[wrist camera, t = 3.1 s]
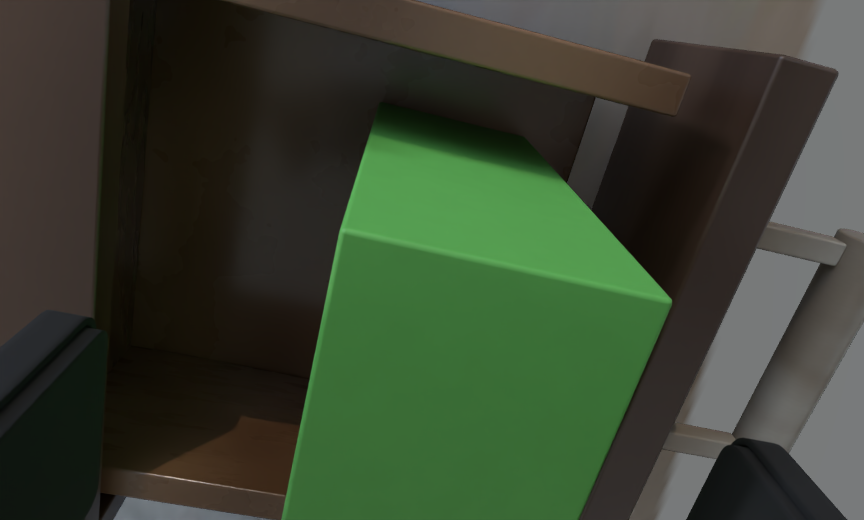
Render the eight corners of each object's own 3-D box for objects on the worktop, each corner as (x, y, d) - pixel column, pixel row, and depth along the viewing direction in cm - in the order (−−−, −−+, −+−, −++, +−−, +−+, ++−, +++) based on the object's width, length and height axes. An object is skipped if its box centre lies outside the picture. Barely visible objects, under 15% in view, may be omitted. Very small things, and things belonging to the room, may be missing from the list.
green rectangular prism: (526, 136, 16) (676, 300, 7) (459, 357, 19) (507, 688, 10) (379, 101, 16) (339, 227, 7) (330, 332, 19) (253, 656, 9)
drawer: (851, 92, 17) (1073, 134, 12) (671, 463, 22) (765, 624, 16) (148, -99, 15) (-17, -169, 9) (117, 362, 20) (-3, 508, 14)
